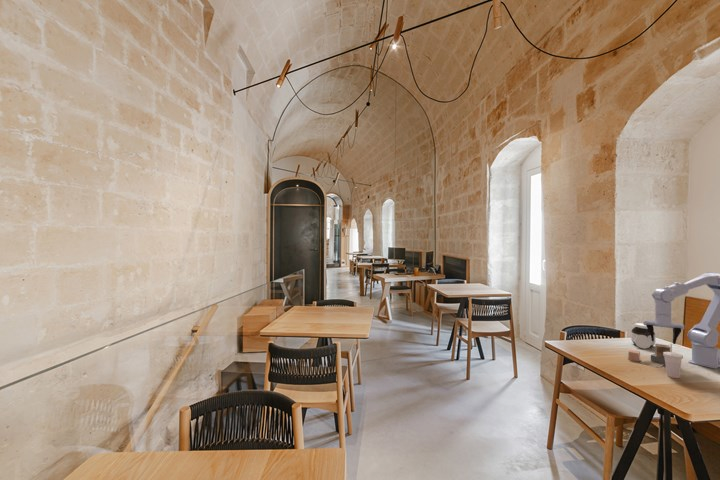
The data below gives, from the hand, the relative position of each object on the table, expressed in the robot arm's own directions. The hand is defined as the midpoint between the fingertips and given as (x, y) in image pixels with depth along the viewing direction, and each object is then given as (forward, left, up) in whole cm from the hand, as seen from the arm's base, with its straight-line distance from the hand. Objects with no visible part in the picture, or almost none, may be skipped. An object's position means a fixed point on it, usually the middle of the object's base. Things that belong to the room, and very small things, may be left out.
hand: (663, 342), depth 164 cm
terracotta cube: (+9, +7, -10) cm, 15 cm away
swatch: (+2, +7, -10) cm, 12 cm away
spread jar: (+16, -22, -10) cm, 29 cm away
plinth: (0, 0, -10) cm, 10 cm away
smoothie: (-9, +17, -10) cm, 22 cm away
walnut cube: (0, 0, -7) cm, 7 cm away
